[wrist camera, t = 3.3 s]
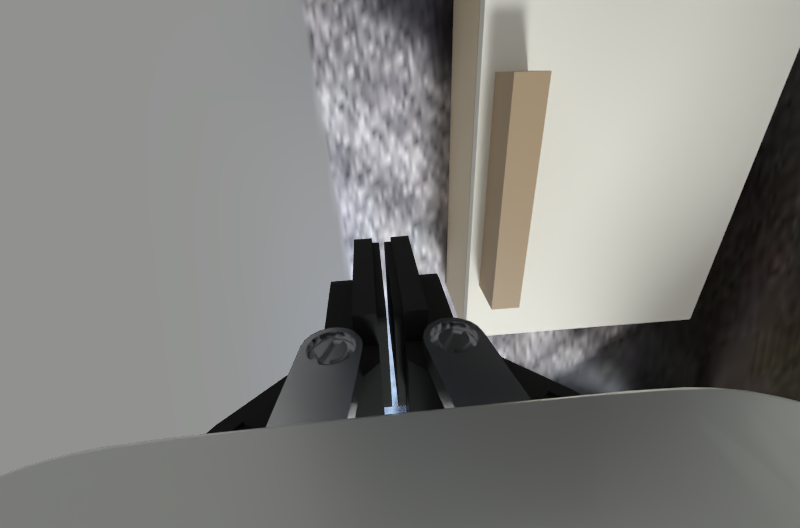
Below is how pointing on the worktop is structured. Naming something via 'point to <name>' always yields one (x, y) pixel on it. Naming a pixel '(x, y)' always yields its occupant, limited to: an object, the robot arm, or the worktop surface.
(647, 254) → the lid
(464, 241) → the box
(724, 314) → the worktop surface
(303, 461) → the robot arm
